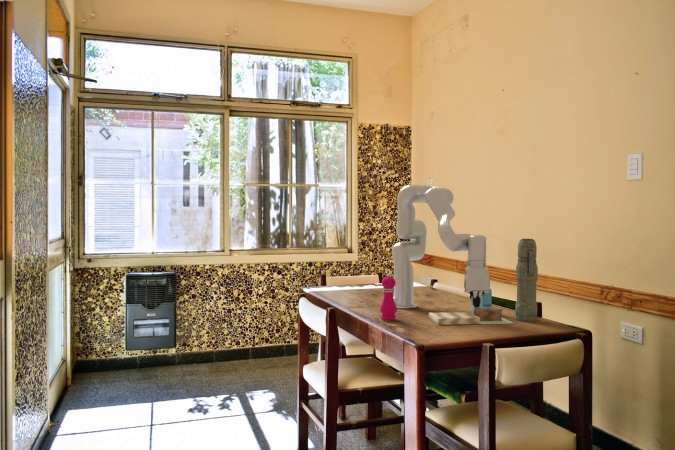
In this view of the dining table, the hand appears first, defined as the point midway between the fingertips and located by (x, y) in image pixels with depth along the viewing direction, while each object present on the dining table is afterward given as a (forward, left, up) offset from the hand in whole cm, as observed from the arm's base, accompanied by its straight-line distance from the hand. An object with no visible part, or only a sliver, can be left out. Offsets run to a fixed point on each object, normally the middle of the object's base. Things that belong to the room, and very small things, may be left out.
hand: (476, 306), depth 233 cm
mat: (+6, 0, -6) cm, 8 cm away
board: (-10, 0, -6) cm, 12 cm away
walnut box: (+5, 0, -6) cm, 7 cm away
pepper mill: (-37, +6, -6) cm, 38 cm away
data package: (+9, +17, -6) cm, 20 cm away
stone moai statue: (+22, -1, -6) cm, 23 cm away
